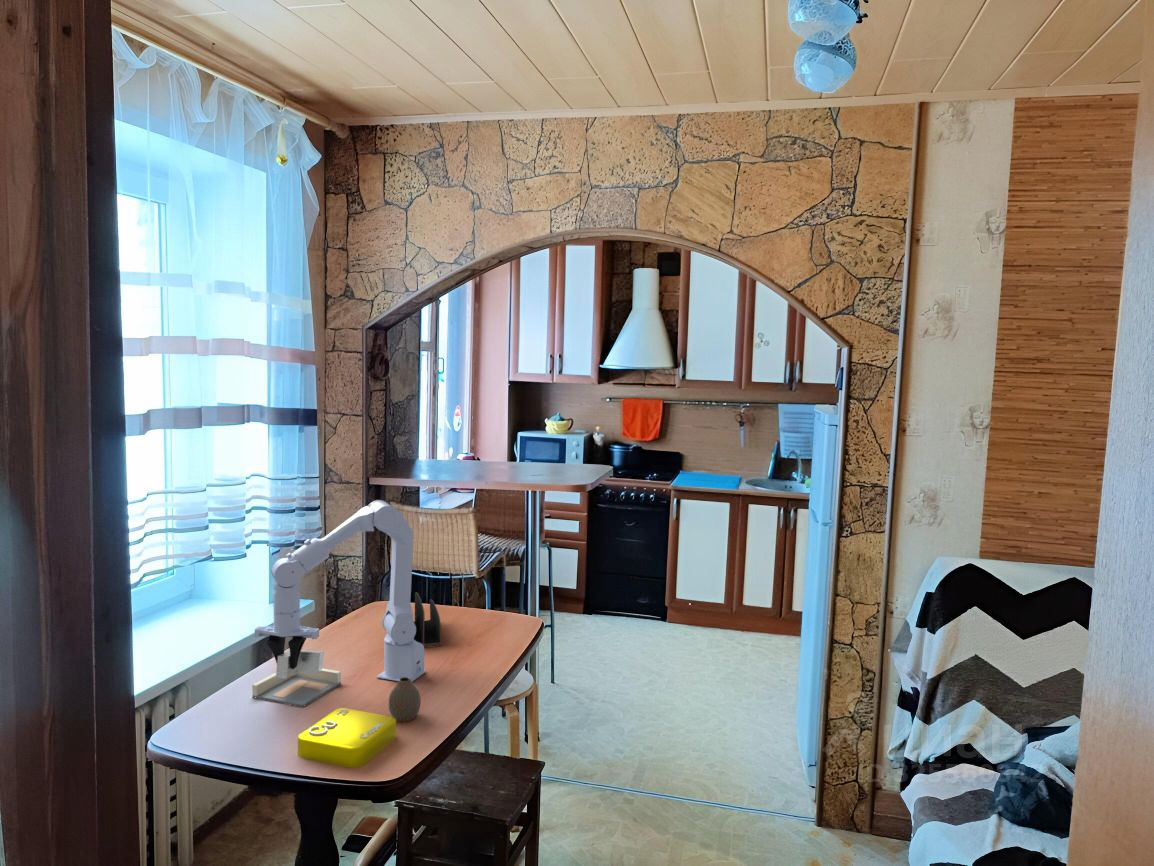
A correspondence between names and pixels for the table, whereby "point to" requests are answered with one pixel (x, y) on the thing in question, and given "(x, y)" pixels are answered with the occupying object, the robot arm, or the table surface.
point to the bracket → (300, 664)
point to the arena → (296, 687)
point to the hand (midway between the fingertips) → (287, 667)
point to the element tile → (347, 737)
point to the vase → (404, 700)
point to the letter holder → (427, 624)
